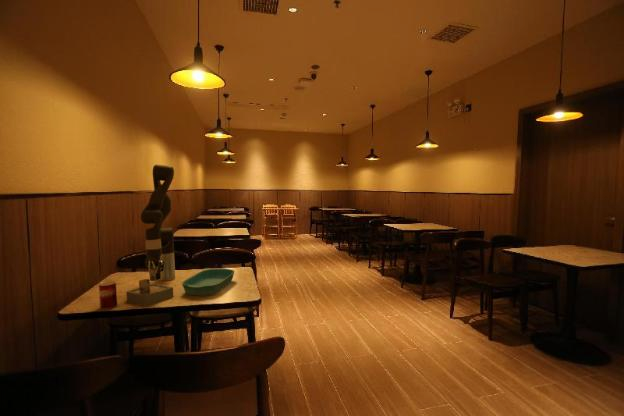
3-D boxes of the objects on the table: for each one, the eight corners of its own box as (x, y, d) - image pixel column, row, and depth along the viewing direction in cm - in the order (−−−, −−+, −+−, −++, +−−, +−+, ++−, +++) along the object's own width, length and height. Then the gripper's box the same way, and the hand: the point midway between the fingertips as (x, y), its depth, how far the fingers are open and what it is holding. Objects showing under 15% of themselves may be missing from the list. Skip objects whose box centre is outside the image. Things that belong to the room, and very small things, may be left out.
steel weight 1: (137, 292, 165) (136, 281, 165) (146, 289, 169) (145, 278, 169) (143, 293, 162) (142, 282, 162) (152, 291, 167) (151, 279, 166)
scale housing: (126, 301, 166) (126, 291, 166) (155, 291, 180) (154, 283, 179) (145, 306, 158) (144, 296, 158) (173, 296, 172) (173, 287, 171)
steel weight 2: (147, 280, 170) (147, 269, 169) (155, 277, 174) (155, 267, 174) (154, 281, 167) (153, 270, 167) (162, 278, 172) (161, 268, 172)
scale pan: (132, 294, 166) (132, 291, 166) (153, 287, 177) (153, 285, 177) (146, 298, 160) (146, 295, 160) (167, 291, 171) (167, 288, 171)
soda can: (105, 304, 161) (103, 281, 161) (120, 303, 162) (118, 280, 161) (96, 310, 154) (95, 285, 153) (112, 309, 155) (111, 285, 154)
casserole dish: (214, 299, 167) (214, 286, 166) (175, 298, 170) (174, 285, 169) (239, 279, 203) (239, 268, 203) (206, 278, 206) (206, 267, 206)
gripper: (138, 247, 170) (140, 278, 171) (155, 249, 163) (157, 282, 164) (151, 245, 176) (153, 275, 178) (168, 247, 169) (169, 278, 170)
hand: (155, 278), depth 171 cm, fingers closed on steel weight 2, 5 cm apart
